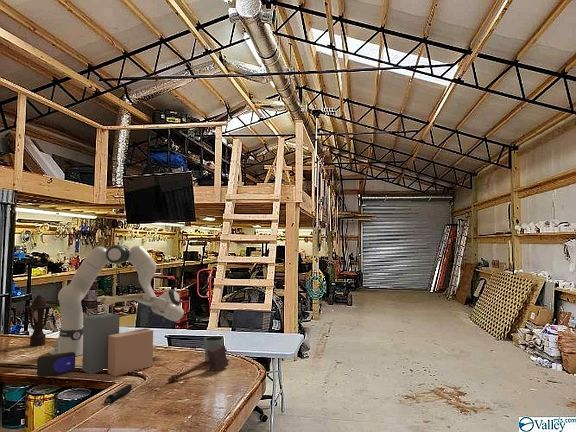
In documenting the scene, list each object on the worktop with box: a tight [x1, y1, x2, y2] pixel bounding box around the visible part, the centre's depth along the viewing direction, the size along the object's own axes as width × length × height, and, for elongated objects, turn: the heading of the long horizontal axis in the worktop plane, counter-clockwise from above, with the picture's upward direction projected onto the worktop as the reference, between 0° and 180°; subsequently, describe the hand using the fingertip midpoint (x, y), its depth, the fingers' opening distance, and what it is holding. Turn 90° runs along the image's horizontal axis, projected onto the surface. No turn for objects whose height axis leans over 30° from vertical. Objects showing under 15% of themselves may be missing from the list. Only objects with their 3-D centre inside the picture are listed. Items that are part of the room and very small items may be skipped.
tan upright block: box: [107, 328, 154, 377], centre depth 214 cm, size 7×20×18 cm, turn 140°
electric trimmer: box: [103, 384, 133, 404], centre depth 177 cm, size 4×16×3 cm, turn 167°
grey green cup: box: [203, 335, 224, 363], centre depth 228 cm, size 10×10×12 cm
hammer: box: [167, 344, 230, 383], centre depth 206 cm, size 7×33×10 cm, turn 138°
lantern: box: [25, 294, 53, 347], centre depth 263 cm, size 15×15×30 cm
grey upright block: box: [81, 312, 121, 375], centre depth 215 cm, size 9×14×26 cm, turn 140°
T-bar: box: [99, 292, 146, 305], centre depth 225 cm, size 7×23×3 cm, turn 140°
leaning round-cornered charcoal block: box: [36, 352, 76, 378], centre depth 207 cm, size 16×5×9 cm, turn 124°
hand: (140, 295), depth 232 cm, fingers closed on T-bar, 3 cm apart
